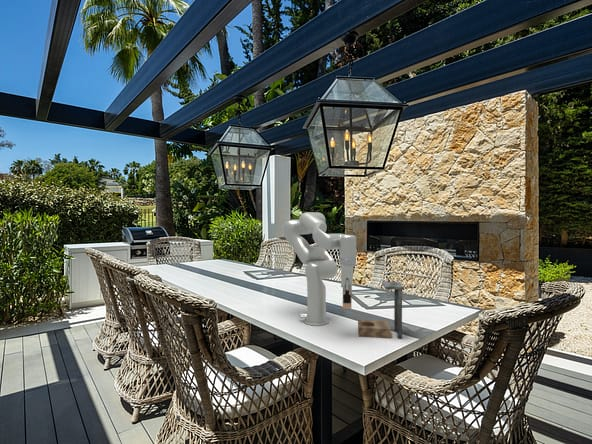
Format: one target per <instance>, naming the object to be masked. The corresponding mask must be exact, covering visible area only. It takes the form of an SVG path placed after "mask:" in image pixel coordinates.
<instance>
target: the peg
mask: <svg viewBox="0 0 592 444" xmlns="http://www.w3.org/2000/svg"><path fill="white" fill-rule="evenodd" d="M345 287H346V286H345ZM349 287H350V285H349ZM352 289H353V286H352V287H350V294H351V303H344V302H343V300H344V287H342V309H347V310H352V305H353V304H352V303H353V302H352V301H353V300H352V299H353V298H352V293H353V292H352V291H353V290H352Z"/></svg>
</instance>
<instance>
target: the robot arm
mask: <svg viewBox="0 0 592 444" xmlns="http://www.w3.org/2000/svg"><path fill="white" fill-rule="evenodd" d="M327 226H328V225H327V223H326V217H325V215H324V214H323V213H321V212H313V211H311V212H310V211H309V212H308V211H307V212H303V213H301V215H300V216H299V218H298V219H290V220H287V221H286V222H285V223H283V229H282V230H283V235H284V239H285V240H286V241H287V243H288V244H289V245H290V246H291V248H292V249H293V251H294V252H295V254H296V255H297V257H298V259H299V260H300V262H301V263H302V264H303V265H306V266H305V276H306V277H305V278H306V285H307V286H306V289H307V290H306V292H307V293H306V294H307V296H306V297H307V298H306V301H307V302H306V303H307V304H306V305H307V306H306V307H307V312H305V313H301V312H300V313H299V312H298V313H299V314H298V317H299V318H300V319H304V320H303V321H304V322H303V323H304V324H306V325H308V326H314V327H322V326H326V325H328V324H329V322H330V321H329V319H328V318H327V317H326V316H327V315H326V314H327V312H326V311H327V310H326V309H327V308H326V305H327V302H326V301H327V300H326V299H327V298H326V296H327V294H326V293H327V290H326V289H327V288H326V285H325V283H324V281H323V280H327V279H333V278H335V277H337V274H338V271H339V270H338V265H337V264H336V261H335V260H334V259H333V257H332V256H331V255H330V253H329V252H328V251H331V250H332V251H333V250H339V262H338V263H339V266H341V267H340V268H341V271H340V273H341V274H340V279H341V280H340V287H341V288H343V287H344V300H343V299H342V303H343V302H344V303H351V294H350V287H352V288H353V282H354V280H353V279H354V267H355V266H357V237H356V235H353V234H344V233H326V232H327V228H328V227H327ZM310 234H312V239H313V242H314V243H315V244H316V245H317V246H315V245H314V246H312V245H311V244H309V243H308V241H307V240H306V239H305V238H304V237H303V236H301V235H310ZM349 285H350V287H349ZM345 286H346V287H345Z"/></svg>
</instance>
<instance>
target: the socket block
mask: <svg viewBox="0 0 592 444" xmlns="http://www.w3.org/2000/svg"><path fill="white" fill-rule="evenodd" d="M382 286H383V288H384V289H385V290H394V294H393V295H394V298H393V299H394V303H393V304H394V305H393V307H394V309H393V310H394V313H393V314H394V315H393V317H394V318H393V319H394V320H393V323H394V324H393V325H394V326H393V327H394V329H393V330H394V332H397V333H396V337H397V339H398V340H399V339H400V340H402V339H403V290H404V289H405V287H404V285H403V284H402V283H401V282H400V281H399V282H398V281H382ZM357 326H358V327H357V331H358V332H357V333H358V337H360V338H361V337H363V338H376V339H377V338H378V339H379V338H380V339H392V338H391V337H392V334H391V333H392V332H391V331H392V330H391V327H390V323H389V322H388V321H387V320H372V319H371V320H370V319H369V320H368V319H357Z"/></svg>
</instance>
